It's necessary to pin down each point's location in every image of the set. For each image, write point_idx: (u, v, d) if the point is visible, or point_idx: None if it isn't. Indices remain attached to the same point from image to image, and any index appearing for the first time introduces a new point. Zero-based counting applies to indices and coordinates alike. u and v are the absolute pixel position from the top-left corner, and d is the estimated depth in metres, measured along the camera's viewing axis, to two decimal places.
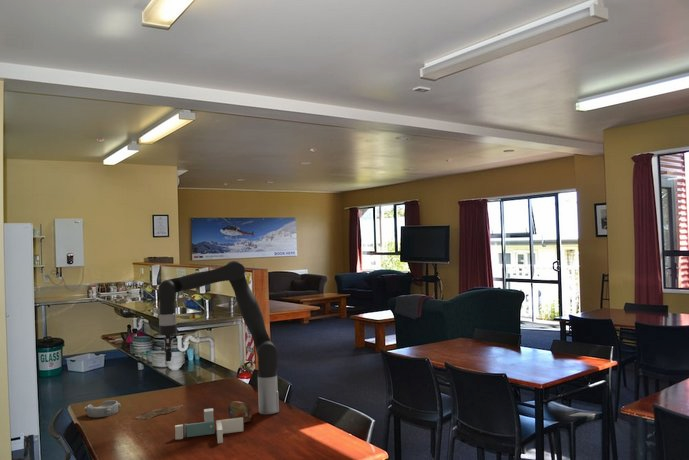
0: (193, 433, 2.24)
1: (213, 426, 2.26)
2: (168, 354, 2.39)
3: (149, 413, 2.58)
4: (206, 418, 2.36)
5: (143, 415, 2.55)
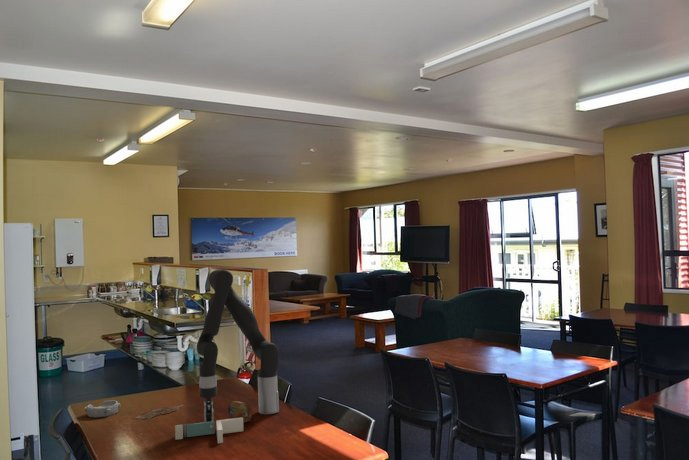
0: (193, 433, 2.24)
1: (213, 426, 2.26)
2: None
3: (149, 413, 2.58)
4: None
5: (143, 415, 2.55)
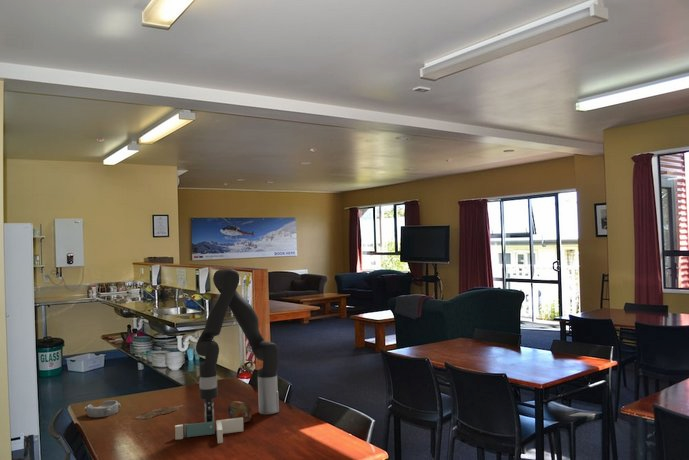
0: (193, 433, 2.24)
1: (213, 426, 2.26)
2: None
3: (149, 413, 2.58)
4: (206, 420, 2.29)
5: (143, 415, 2.55)
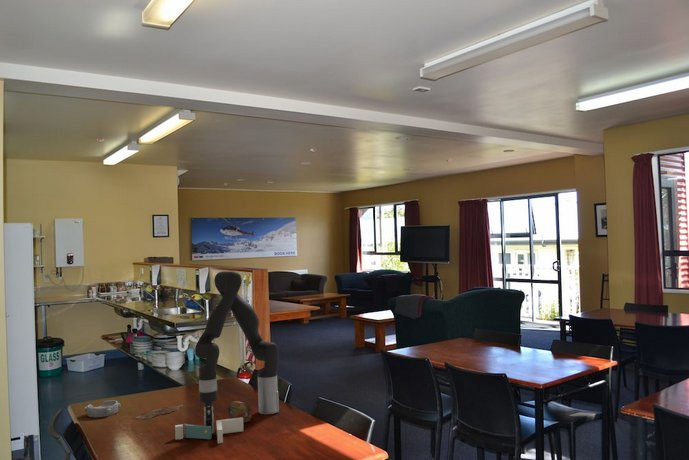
0: (191, 435, 2.22)
1: (208, 431, 2.20)
2: None
3: (149, 413, 2.58)
4: None
5: (143, 415, 2.55)
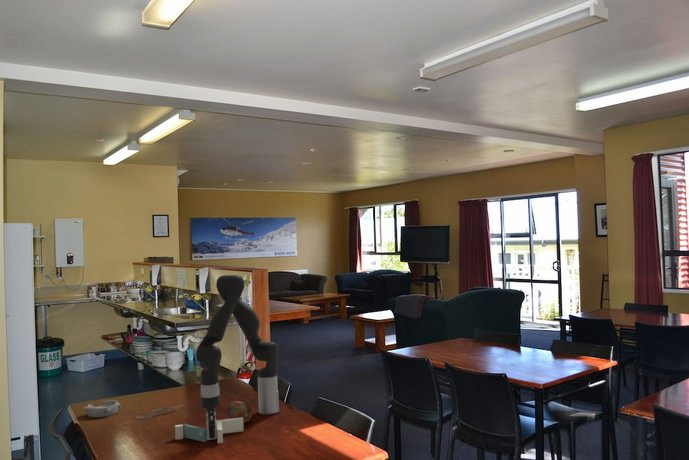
0: (189, 435, 2.21)
1: (203, 434, 2.17)
2: None
3: (149, 413, 2.58)
4: (208, 429, 2.17)
5: (143, 415, 2.55)
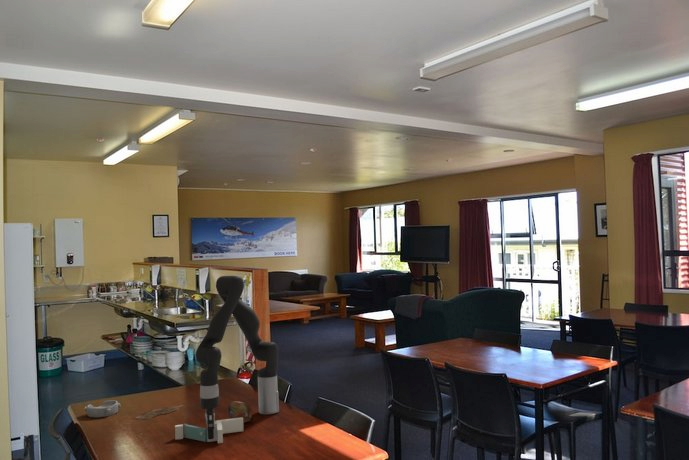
0: (190, 435, 2.21)
1: (204, 434, 2.17)
2: None
3: (149, 413, 2.58)
4: None
5: (143, 415, 2.55)
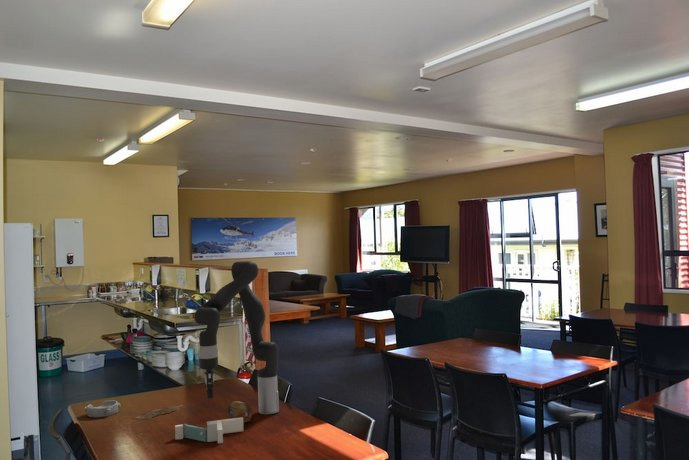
0: (190, 435, 2.21)
1: (204, 434, 2.17)
2: None
3: (149, 413, 2.58)
4: (209, 431, 2.16)
5: (143, 415, 2.55)
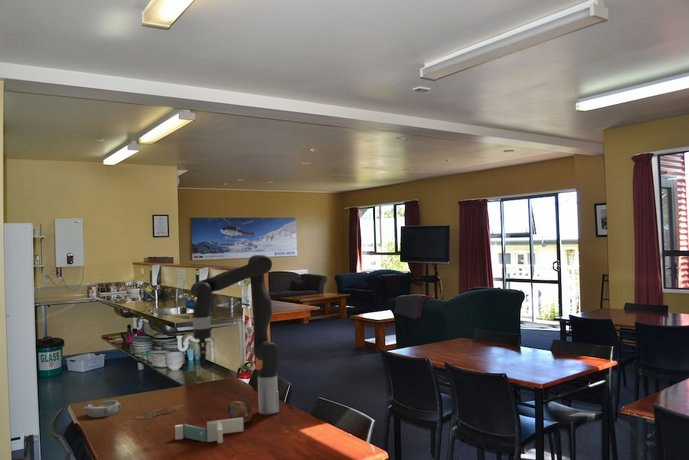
0: (190, 435, 2.21)
1: (204, 434, 2.17)
2: None
3: (149, 413, 2.58)
4: (209, 431, 2.16)
5: (143, 415, 2.55)
